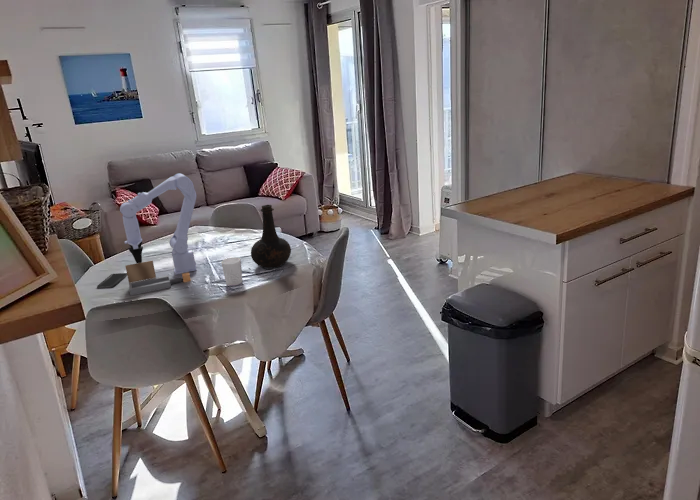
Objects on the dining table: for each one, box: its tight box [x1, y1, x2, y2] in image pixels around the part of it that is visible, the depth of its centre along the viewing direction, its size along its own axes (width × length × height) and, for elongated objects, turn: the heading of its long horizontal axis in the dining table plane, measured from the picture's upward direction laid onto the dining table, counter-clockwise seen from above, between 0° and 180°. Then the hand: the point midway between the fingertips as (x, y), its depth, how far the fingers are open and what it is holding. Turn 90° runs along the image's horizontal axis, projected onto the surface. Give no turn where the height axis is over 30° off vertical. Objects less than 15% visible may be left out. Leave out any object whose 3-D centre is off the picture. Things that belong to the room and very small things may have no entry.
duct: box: [128, 275, 172, 296], centre depth 215 cm, size 16×8×3 cm, turn 113°
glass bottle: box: [250, 204, 292, 269], centre depth 228 cm, size 18×18×28 cm
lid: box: [124, 260, 157, 284], centre depth 217 cm, size 11×8×1 cm
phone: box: [96, 272, 128, 289], centre depth 226 cm, size 8×1×15 cm
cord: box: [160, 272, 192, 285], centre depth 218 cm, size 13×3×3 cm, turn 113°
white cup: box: [221, 257, 243, 287], centre depth 213 cm, size 8×8×10 cm
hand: (138, 260), depth 222 cm, fingers open, 7 cm apart
